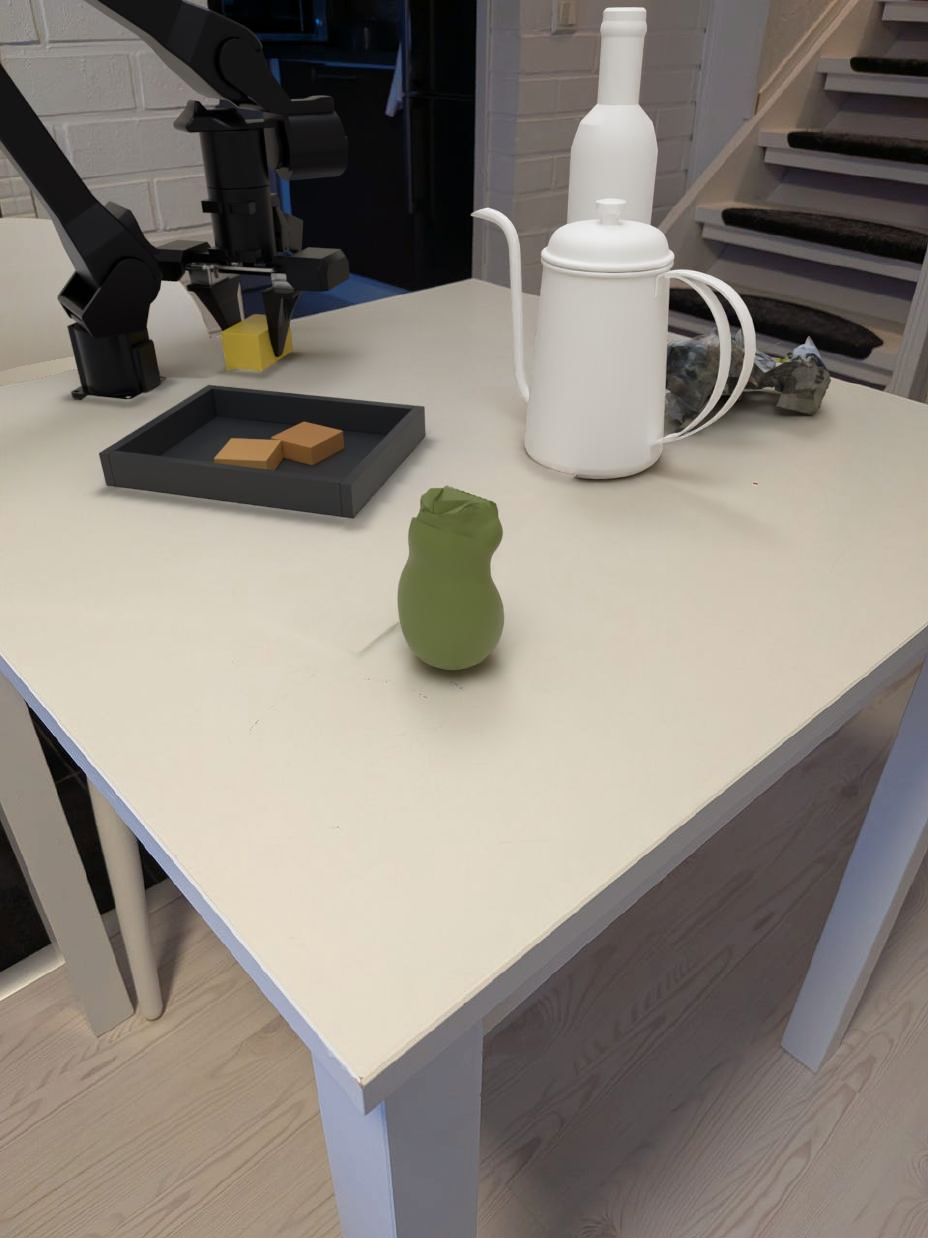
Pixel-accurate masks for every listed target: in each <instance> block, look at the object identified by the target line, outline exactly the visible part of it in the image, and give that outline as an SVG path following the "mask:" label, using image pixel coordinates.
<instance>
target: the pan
mask: <svg viewBox="0 0 928 1238" xmlns="http://www.w3.org/2000/svg"><path fill="white" fill-rule="evenodd" d="M302 422H308V423H312V424H316V425H321V426H325V427H329V428H333V429H337V430H341V431H343V438H344V449H342V450H340V451H338V452H337V453H335V454H333V455H331V456H329V457H327V458H326V459H324V460H322V461H320V462H318V463H316V464H314V465H308V464H305V463H301V462H297V461H293V460H290V459H286V458H283V459H282V461H281V462H280V464H279V465H278V466H277V468H276V469H275V470H269V469H260V468H252V467H244V466H236V465H228V464H220V463H214V458H215V457H216V455H217V454H218V453H219V452H220V451H221V450H222V449H223V447H224V446H225V445H226V444H227V443H228V442H229V440H230V439H231V438H237V439H261V440H271V437H273V436H275V435H277V434H279V433H281V432H283V431H285V430H287V429H289V428H292V427H294V426H296V425H298V424H300V423H302ZM425 438H426V409H425V406H424V405H413V404H405V403H404V404H403V403H395V402H394V403H393V402H385V401H384V402H383V401H373V400H364V399H354V398H344V397H333V396H325V395H324V396H323V395H315V394H303V393H295V392H284V391H275V390H274V391H273V390H265V389H254V388H245V387H244V388H243V387H235V386H224V385H215V384H206V386H204V387H202V388H201V389H199V390H198V391H195V392H194V393H193V394H191V395H189V396H187V397H186V398H185V399H183V400H182V401H180V402H178V403H177V404H175V405H174V406H172V407H170V408H169V409H167V410H166V411H164V412H163V413H161V414H159V415H158V416H156V417H155V418H153V419H151V420H149V421H148V422H146V423H145V424H143V425H141V426H139V427H138V428H137V429H135V430H134V431H131V432H130V433H128V434H127V435H125V436H124V437H122V438H121V439H119V440H118V441H116V442H114V443H113V444H111V445H109V446H107V448H105V449H103V450H102V451H99V452H98V456H99V460H100V464H101V469H102V473H103V478H104V482H105V485H106V486H108V487H114V488H122V489H129V490H137V491H145V492H151V493H152V492H153V493H157V494H158V493H160V494H167V495H172V496H173V495H175V496H182V497H190V498H197V499H202V500H203V499H204V500H210V501H211V500H212V501H217V502H218V501H219V502H225V503H227V502H228V503H233V504H234V503H235V504H241V505H249V506H255V507H264V508H269V509H278V510H284V511H285V510H287V511H293V512H302V513H308V514H315V515H323V516H331V517H338V518H339V517H340V518H347V519H355V517H356V516H357V515H358V514H359V513H360V512H361V510H362V509H364V507H365V506H366V505H367V504H368V503H369V501H370V500H371V499H372V498H373V497H374V496H375V495H376V493H378V491H379V490H380V489H382V487H383V485H384V484H385V483H386V482H387V481H388V480H389V479H390V478H391V477H392V476H393V474H394V473H395V472H396V471H397V469H399V467H400V466H401V465H402V464H403V463H404V461H406V459H408V457H409V456H410V454H411V453H412V452H413V451H414V450H415V449H416V448H417V447H418V446H419V445H420V444H421V442H422V441H423V440H424V439H425Z"/></svg>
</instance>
